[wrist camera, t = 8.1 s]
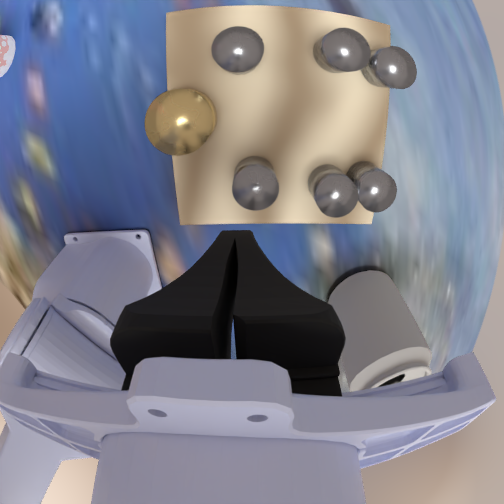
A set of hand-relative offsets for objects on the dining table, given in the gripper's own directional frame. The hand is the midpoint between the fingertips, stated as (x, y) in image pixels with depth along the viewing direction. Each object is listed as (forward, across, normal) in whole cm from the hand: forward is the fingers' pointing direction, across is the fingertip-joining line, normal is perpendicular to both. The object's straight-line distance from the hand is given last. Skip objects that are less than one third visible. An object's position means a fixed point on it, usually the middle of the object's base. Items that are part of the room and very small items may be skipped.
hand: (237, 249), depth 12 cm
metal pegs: (+9, -5, -5) cm, 12 cm away
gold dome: (+9, +4, -5) cm, 11 cm away
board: (+10, -3, -5) cm, 11 cm away
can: (+10, -12, +12) cm, 20 cm away
